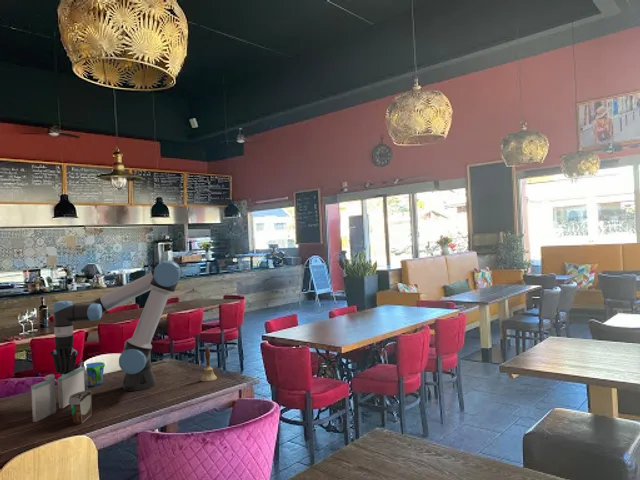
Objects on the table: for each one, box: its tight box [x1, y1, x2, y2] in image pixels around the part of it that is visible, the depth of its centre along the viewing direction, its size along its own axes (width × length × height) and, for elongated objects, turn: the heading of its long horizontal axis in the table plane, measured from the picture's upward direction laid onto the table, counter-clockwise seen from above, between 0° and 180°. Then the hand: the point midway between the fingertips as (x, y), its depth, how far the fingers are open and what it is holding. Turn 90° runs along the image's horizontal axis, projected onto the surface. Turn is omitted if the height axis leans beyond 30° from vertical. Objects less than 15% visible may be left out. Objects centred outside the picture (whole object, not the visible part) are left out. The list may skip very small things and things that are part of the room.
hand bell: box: [199, 347, 218, 382], centre depth 239 cm, size 8×8×16 cm
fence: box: [30, 361, 89, 423], centre depth 206 cm, size 2×32×16 cm, turn 170°
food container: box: [69, 390, 93, 425], centre depth 190 cm, size 12×6×10 cm, turn 5°
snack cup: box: [86, 361, 106, 387], centre depth 241 cm, size 16×10×10 cm
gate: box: [57, 366, 85, 409], centre depth 210 cm, size 2×18×13 cm, turn 179°
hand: (65, 387), depth 213 cm, fingers closed
